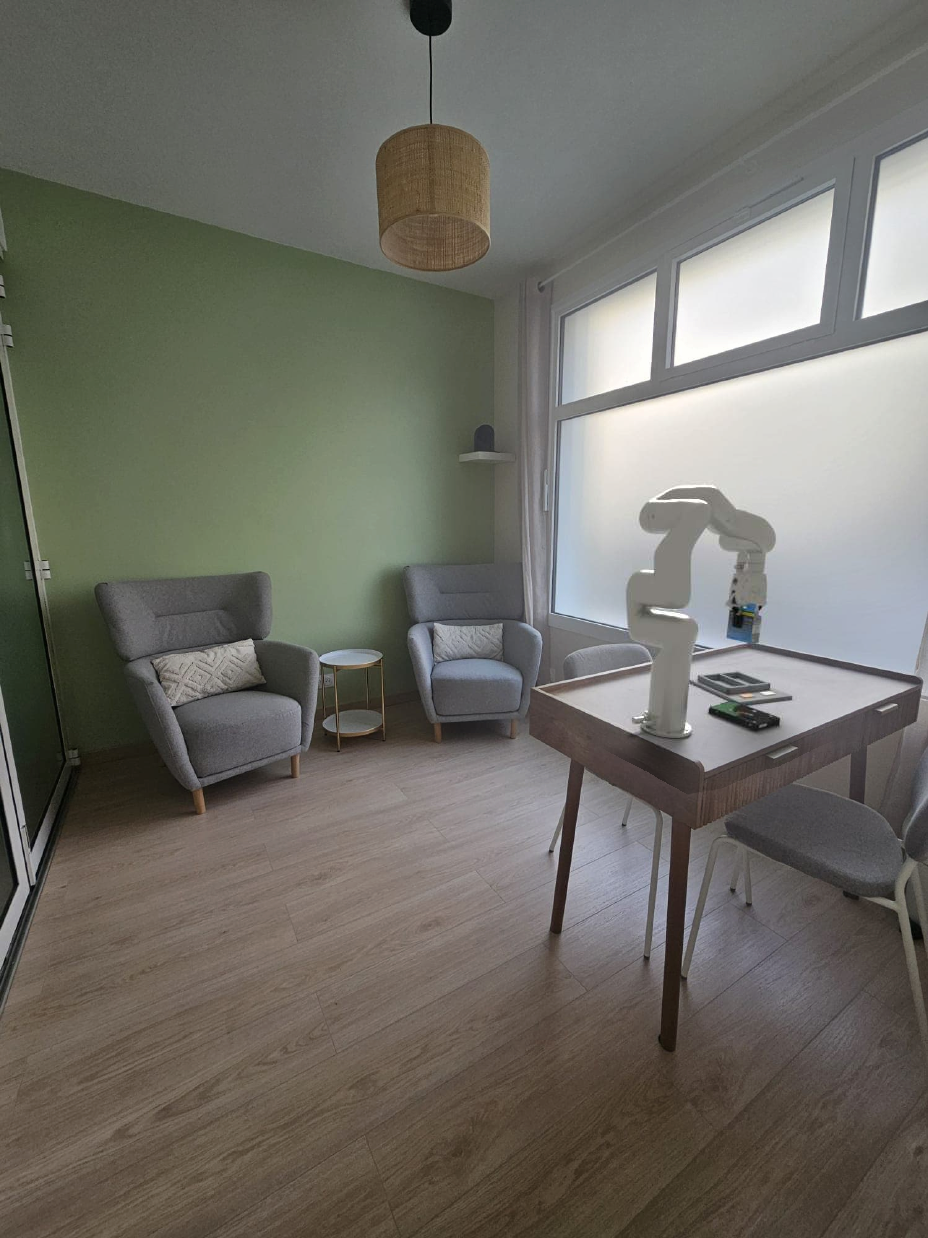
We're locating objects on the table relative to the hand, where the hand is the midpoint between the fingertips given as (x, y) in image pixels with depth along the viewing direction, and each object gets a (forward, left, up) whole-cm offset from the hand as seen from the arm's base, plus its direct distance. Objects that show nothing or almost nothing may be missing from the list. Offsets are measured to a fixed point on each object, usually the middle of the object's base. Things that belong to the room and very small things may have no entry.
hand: (743, 626), depth 157 cm
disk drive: (-13, -17, -23) cm, 31 cm away
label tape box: (0, 0, -5) cm, 5 cm away
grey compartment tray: (+3, +3, -22) cm, 23 cm away
